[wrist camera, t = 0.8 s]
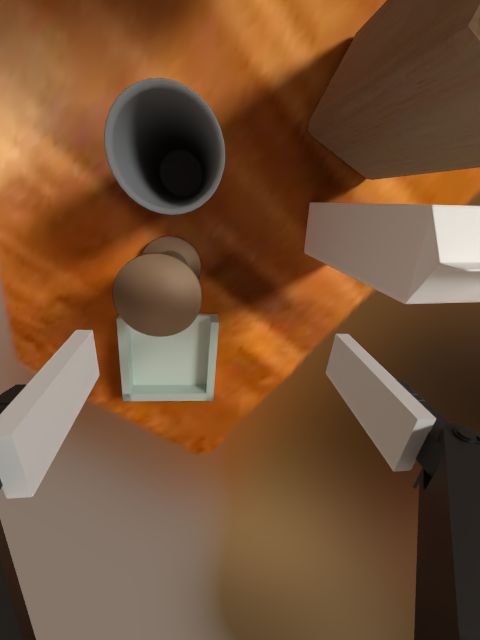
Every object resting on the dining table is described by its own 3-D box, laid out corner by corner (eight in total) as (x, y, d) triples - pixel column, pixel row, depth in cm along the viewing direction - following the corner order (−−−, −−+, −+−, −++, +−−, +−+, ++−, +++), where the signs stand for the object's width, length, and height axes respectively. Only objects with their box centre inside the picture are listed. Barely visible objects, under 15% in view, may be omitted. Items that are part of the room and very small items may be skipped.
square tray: (122, 309, 34) (116, 318, 32) (217, 313, 36) (219, 322, 34) (127, 388, 39) (122, 401, 37) (212, 388, 41) (213, 400, 39)
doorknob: (140, 233, 31) (108, 251, 20) (202, 238, 32) (203, 258, 21) (142, 292, 34) (115, 335, 23) (199, 295, 35) (199, 337, 24)
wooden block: (357, 26, 27) (698, -345, 8) (425, 94, 30) (782, -72, 11) (300, 132, 29) (463, 24, 11) (367, 184, 33) (580, 164, 14)
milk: (308, 202, 32) (485, 201, 12) (356, 203, 33) (595, 204, 13) (303, 254, 35) (443, 324, 15) (347, 254, 36) (538, 321, 16)
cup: (140, 191, 30) (90, 184, 16) (160, 123, 27) (122, 48, 14) (200, 218, 31) (201, 233, 18) (223, 156, 29) (243, 119, 16)
